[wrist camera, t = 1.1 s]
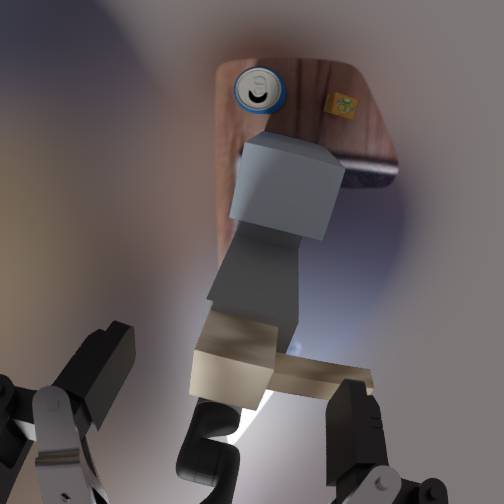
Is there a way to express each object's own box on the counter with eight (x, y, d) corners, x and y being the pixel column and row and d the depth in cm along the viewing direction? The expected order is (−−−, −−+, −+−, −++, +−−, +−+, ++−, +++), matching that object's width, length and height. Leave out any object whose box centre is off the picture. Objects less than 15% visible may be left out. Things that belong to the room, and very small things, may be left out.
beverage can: (244, 111, 45) (229, 111, 35) (248, 74, 43) (235, 62, 32) (283, 116, 45) (281, 116, 34) (288, 78, 42) (287, 67, 31)
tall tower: (282, 260, 56) (269, 390, 30) (240, 249, 56) (195, 372, 30) (299, 199, 51) (305, 303, 24) (254, 188, 51) (209, 279, 24)
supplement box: (321, 113, 44) (329, 112, 35) (326, 93, 42) (335, 88, 33) (341, 119, 44) (353, 120, 35) (346, 99, 42) (359, 96, 33)
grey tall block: (311, 190, 50) (322, 241, 31) (253, 176, 50) (229, 217, 31) (323, 146, 46) (345, 168, 28) (264, 130, 46) (244, 142, 28)
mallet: (376, 346, 25) (386, 387, 21) (350, 386, 28) (354, 424, 24) (210, 309, 26) (194, 349, 21) (202, 355, 28) (189, 393, 24)
